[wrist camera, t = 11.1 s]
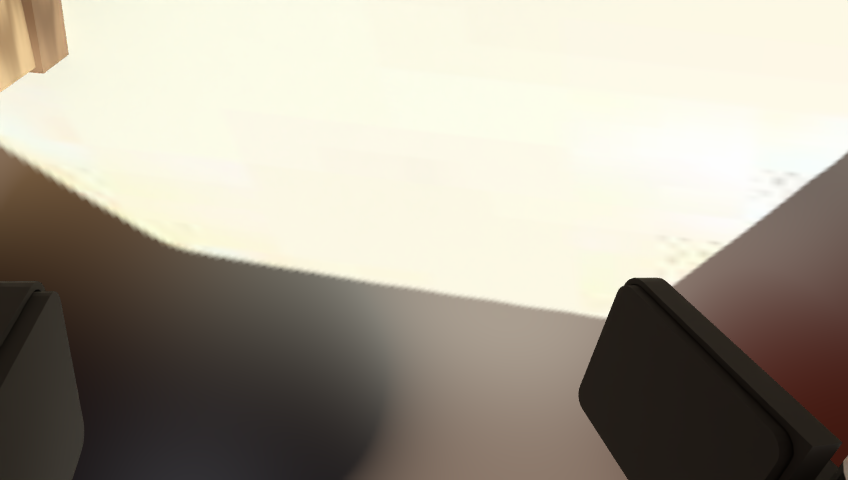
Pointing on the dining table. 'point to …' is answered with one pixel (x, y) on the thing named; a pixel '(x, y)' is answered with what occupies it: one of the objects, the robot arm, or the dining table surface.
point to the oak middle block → (14, 43)
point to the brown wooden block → (45, 32)
